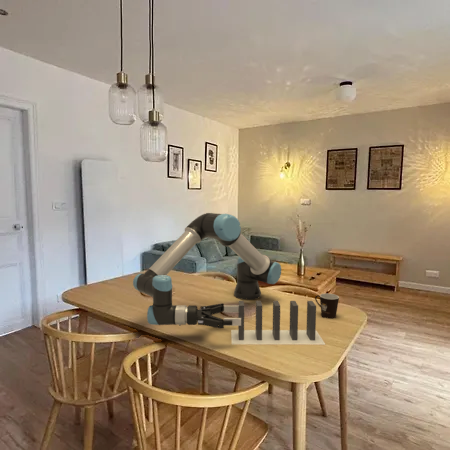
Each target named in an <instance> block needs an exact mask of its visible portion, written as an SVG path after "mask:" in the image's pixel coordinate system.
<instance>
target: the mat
mask: <svg viewBox="0 0 450 450" xmlns="http://www.w3.org/2000/svg"><path fill="white" fill-rule="evenodd" d="M230 331H231V332H230V333H231V334H230V335H231V339H230V340H231V345H290V346H291V345H294V346H295V345H311V346H312V345H313V346H314V345H316V346H317V345H319V346H320V345H323V346H324V345H326V343H325V341H324V340H323V338H322V336H321V335H320V334H319V332H318V331H317V330H316V331H315V340H310V339H309V337H308V336H307V334H306V331H307V329H298V339H297V340H292V338H291V336H290V334H289V332H290V329H280V340H274V337H273V334H272V333H273V329H262V340H257V338H256V329H244V340H239V335H238V329H231V330H230Z"/></svg>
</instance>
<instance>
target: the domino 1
mask: <svg viewBox="0 0 450 450" xmlns="http://www.w3.org/2000/svg"><path fill="white" fill-rule="evenodd" d="M238 306H239V312H237V313H238V317H237V318H241V326H237V327H238V329H237V330H238V335H239V340H244V330H245V302H244V300H238Z"/></svg>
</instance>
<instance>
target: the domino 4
mask: <svg viewBox="0 0 450 450" xmlns="http://www.w3.org/2000/svg"><path fill="white" fill-rule="evenodd" d="M289 330H290V332H289V334H290V336H291V338H292V340H297V339H298V330H299V305H298V303H297V301H296V300H289Z"/></svg>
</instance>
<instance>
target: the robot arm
mask: <svg viewBox="0 0 450 450" xmlns="http://www.w3.org/2000/svg"><path fill="white" fill-rule="evenodd" d="M206 238H209V239H214V240H217V242H219V243H220V245H221V246H223V247H228V248H230V249H231V251H233V252H234V253H235V254H236V255H237V256H238V258H237V264H236V267H237V268H236V269H237V271H236V272H237V275H236V276H237V278H236V280H237V281H236V282H237V283H236V285H235V288H234V294H233V296H234V297H235V298H237V299H240V300H247V301H248V300H249V301H250V300H257V299H260V298H261V296H262V292H261V288H260V285H259V282H261V283H262V282H263V283H265V284H268V285H275V284H276V283H278V282H279V280H280V278H281V276H282V266H281V264H280V262H277V261H273V260H272V259H271V258H270V257H268V256H267V255H266V254H262V253H261V252H260V251H258V249H257V248H256V247H255V246H254V245H253V244H252V243H251V242H250V241H249V240H248V239H247V238H246V237H245V236H244V235H243V234H242V227H241V223H240V221H239V219H238V218H237V217H236V216H234V215H232V214H229V213H215V212H206V213H203V214H201V215H199V216H197V217H196V218H195V219H194V220H192V221H191V222H190V223H189V224H188V225H187V226H186V227H185V228H184V232H183V233H182V234H181V235H180V236H179V237H178V238H177V239H176V240H175V241H174V242H173V243H172V245H171V246H169V248H167V249H166V251H164V252H163V254H162V255H160V257H159V258H158V259H157V260H156V261H155V262H154V263H153V264H152V265H151V266H150V267H149V268H148V269H147V270H146V271H145V272H144V273H138V274H137V275H135V277H134V278H133V280H132V285H133V288H134V289H135V290H137V291H138V292H139V293H143V294H145V295H148V296H149V297H152V305H149V306H148V308H147V315H146V319H147V323H148V324H149V325H152V326H153V325H155V326H167V325H168V326H174V325H175V326H177V325H178V326H180V327H181V326H183V325H185V326H186V325H189V326H195V325H198V326H199V325H200V326H207V327H210V328H211V327H212V328H216V329H220V330H221V329H224V326H225V327H226V326H227V327H230V326H231V327H232V326H233V327H234V326H235V327H236V326H237V327H238V326H241V318H238V317H223V318H221V317H217V316H215V315H216V314H219V313H222V312H224V313H239V305H225V303H223V302H222V303H216V304H211V305H202V306H201V305H200V309H198V305H191V304H190V305H186V304H181V305H179V304H178V305H177V304H176V305H175V304H174V305H173V281H172V277H171V276H170V275H168V274H169V273H170V272H171V271H172V270H173V269H174V267H175V266H176V265H177V264H178V263H179V262H180V261H181V260H183V258H184V257H185V256H186V254H187V253H189V251H190V250H191V249H193V248H194V246H195V245H196V244H199V243H201V242H202V241H203V240H204V239H206Z"/></svg>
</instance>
